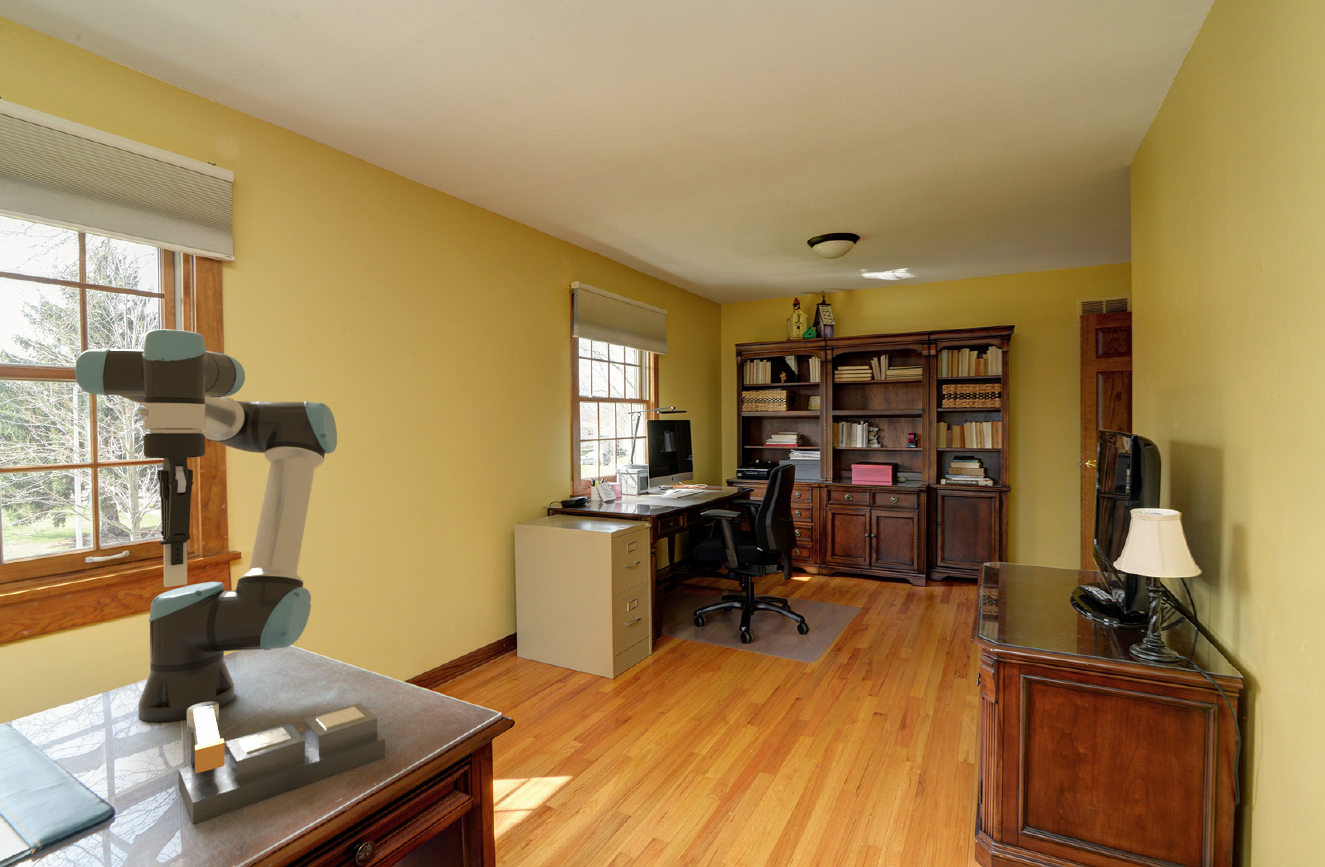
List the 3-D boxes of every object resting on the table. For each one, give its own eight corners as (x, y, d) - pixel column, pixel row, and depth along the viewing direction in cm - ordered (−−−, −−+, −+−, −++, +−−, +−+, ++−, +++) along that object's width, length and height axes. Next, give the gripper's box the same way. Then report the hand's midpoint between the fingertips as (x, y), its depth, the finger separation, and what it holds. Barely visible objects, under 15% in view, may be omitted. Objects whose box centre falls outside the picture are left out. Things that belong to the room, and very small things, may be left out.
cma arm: (186, 725, 99) (186, 705, 99) (217, 718, 101) (217, 698, 101) (191, 774, 85) (191, 750, 85) (228, 764, 88) (227, 741, 88)
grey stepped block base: (177, 784, 98) (177, 732, 98) (355, 728, 116) (355, 685, 116) (193, 824, 88) (192, 766, 88) (384, 756, 106) (385, 708, 106)
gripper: (138, 431, 100) (139, 581, 100) (149, 432, 91) (149, 597, 91) (197, 431, 105) (197, 573, 106) (213, 432, 96) (213, 588, 96)
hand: (175, 584), depth 98 cm, fingers closed
